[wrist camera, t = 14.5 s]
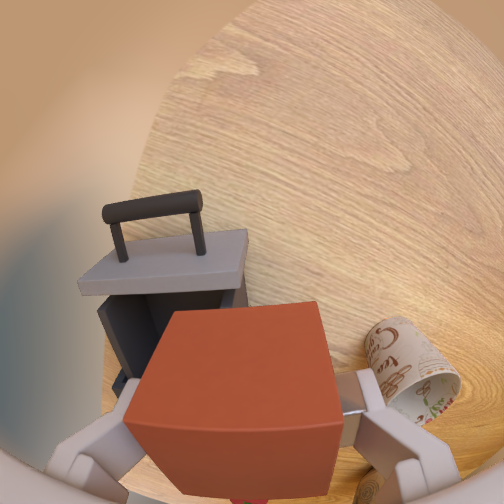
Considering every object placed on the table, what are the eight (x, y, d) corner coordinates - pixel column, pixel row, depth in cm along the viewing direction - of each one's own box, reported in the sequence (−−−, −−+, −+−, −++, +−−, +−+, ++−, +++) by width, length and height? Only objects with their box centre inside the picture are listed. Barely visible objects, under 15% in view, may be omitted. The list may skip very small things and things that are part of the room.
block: (204, 399, 11) (182, 494, 6) (173, 310, 9) (120, 420, 5) (315, 395, 10) (327, 495, 6) (316, 300, 9) (345, 422, 4)
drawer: (111, 195, 23) (58, 221, 16) (240, 175, 22) (226, 193, 15) (159, 357, 29) (136, 409, 22) (263, 355, 28) (260, 415, 21)
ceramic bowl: (329, 488, 45) (334, 543, 31) (341, 458, 39) (351, 529, 25) (420, 468, 43) (433, 516, 29) (448, 431, 37) (471, 489, 23)
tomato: (268, 486, 44) (267, 516, 37) (230, 484, 45) (227, 514, 38) (272, 473, 41) (271, 507, 34) (229, 471, 42) (225, 505, 35)
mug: (398, 292, 26) (443, 357, 17) (445, 346, 29) (480, 401, 19) (339, 344, 29) (359, 419, 19) (396, 386, 31) (418, 446, 22)
